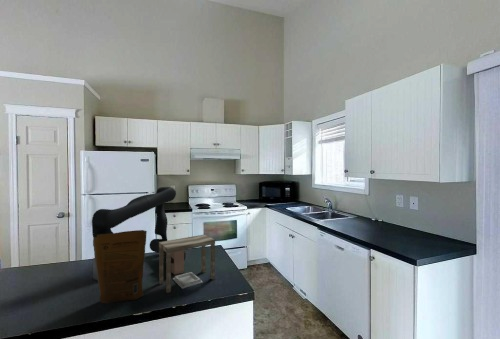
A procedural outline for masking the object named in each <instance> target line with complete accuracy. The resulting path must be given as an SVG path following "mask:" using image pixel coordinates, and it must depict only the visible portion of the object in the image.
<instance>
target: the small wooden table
mask: <svg viewBox="0 0 500 339" xmlns="http://www.w3.org/2000/svg"><path fill="white" fill-rule="evenodd" d="M207 246H210V279H211V280H215V279H216V238H215V239H214V238H213V237H210V236H208V235H207V234H200V235H199V234H198V235H193V236H187V237H181V238H175V239H170V240H167V241H163V242H159V254H158V260H159V261H158V263H159V264H158V265H159V266H158V281H159V282H158V283H159V285H163V284H164V262H163V250H164V251H165V252H166V262H165V263H166V264H165V266H166V267H165V268H166V269H165V270H166V271H165V277H166V281H165V282H166V284H165V285H166V286H165V289H166V290H165V292H166V293H167V294H168V293H169V294H170V293H171V292H172V272H171V253H172V252H177V251H182V250H184V251H187V250H190V249H196V248H201V272H202V274H203V273H206V265H207V264H206V247H207Z"/></svg>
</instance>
